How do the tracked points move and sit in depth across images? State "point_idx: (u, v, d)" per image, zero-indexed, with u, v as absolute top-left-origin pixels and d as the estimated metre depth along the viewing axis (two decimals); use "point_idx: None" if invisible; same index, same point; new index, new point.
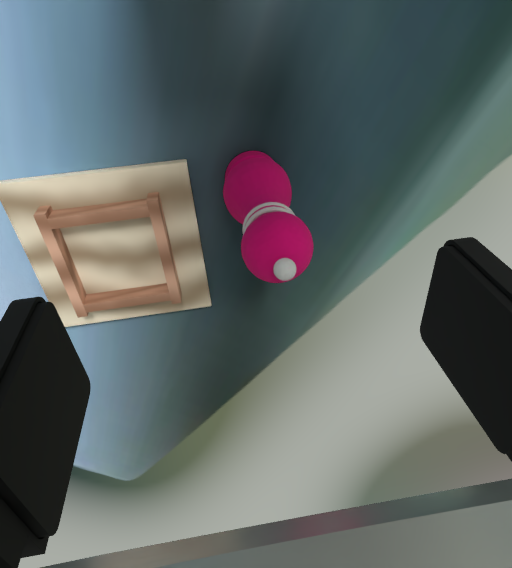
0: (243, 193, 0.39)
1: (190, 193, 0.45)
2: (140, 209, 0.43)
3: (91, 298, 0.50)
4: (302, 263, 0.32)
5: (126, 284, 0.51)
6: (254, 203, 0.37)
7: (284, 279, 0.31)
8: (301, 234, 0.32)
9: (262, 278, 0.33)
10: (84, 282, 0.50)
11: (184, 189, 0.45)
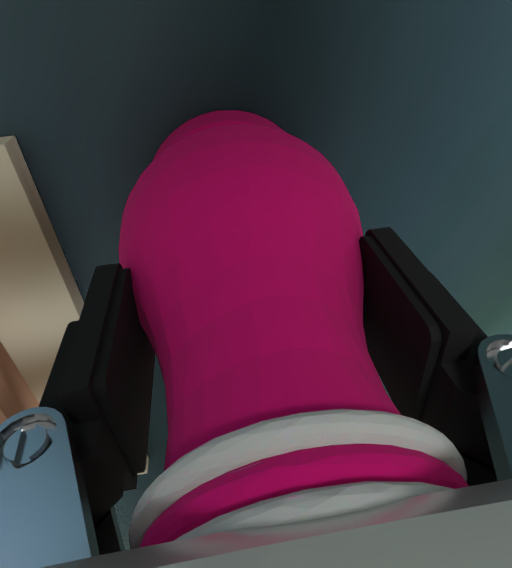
0: (169, 277, 0.09)
1: (42, 242, 0.15)
2: None
3: None
4: None
5: None
6: (212, 360, 0.07)
7: None
8: None
9: None
10: None
11: (21, 231, 0.15)
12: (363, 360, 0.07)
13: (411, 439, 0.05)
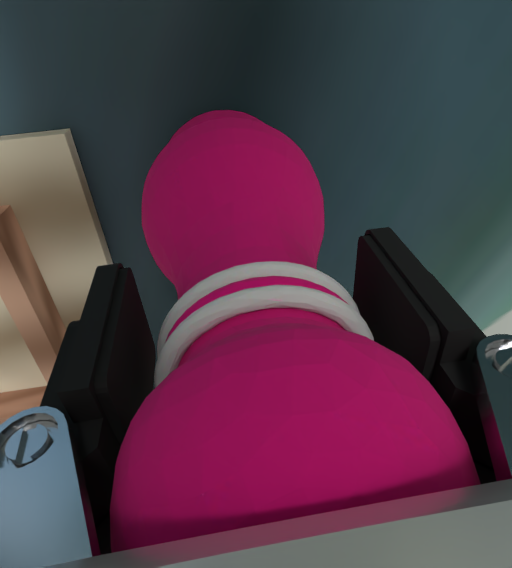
0: (179, 217, 0.12)
1: (85, 208, 0.20)
2: None
3: None
4: None
5: None
6: (207, 257, 0.10)
7: None
8: None
9: None
10: None
11: (71, 199, 0.20)
12: (304, 260, 0.11)
13: (316, 278, 0.09)
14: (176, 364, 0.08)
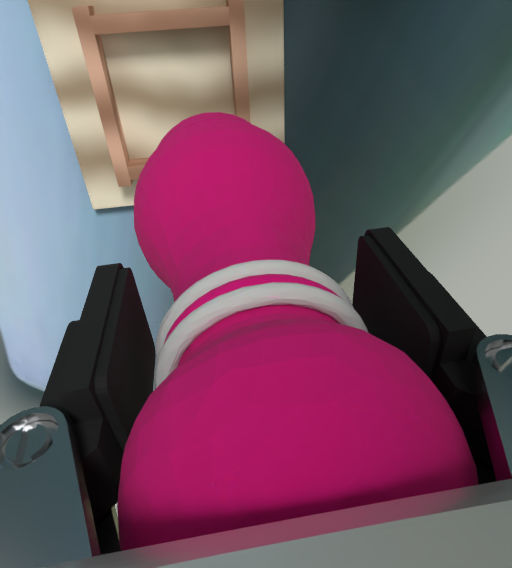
0: (173, 219, 0.13)
1: (281, 2, 0.34)
2: (218, 10, 0.31)
3: (137, 162, 0.38)
4: None
5: None
6: (203, 258, 0.11)
7: None
8: (451, 482, 0.05)
9: None
10: (128, 140, 0.38)
11: None
12: (298, 258, 0.11)
13: (312, 275, 0.09)
14: (176, 363, 0.08)
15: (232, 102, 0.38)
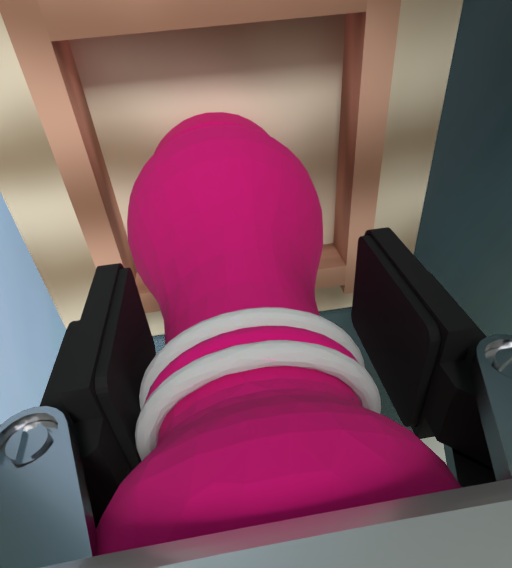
0: (166, 241, 0.11)
1: None
2: None
3: None
4: None
5: None
6: (195, 291, 0.10)
7: None
8: None
9: None
10: None
11: None
12: (302, 293, 0.10)
13: (315, 326, 0.08)
14: (159, 425, 0.07)
15: (335, 165, 0.19)
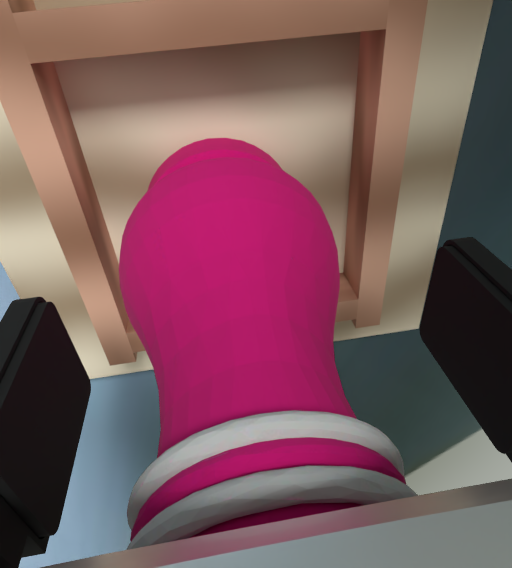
0: (162, 297, 0.10)
1: None
2: None
3: None
4: None
5: None
6: (195, 370, 0.08)
7: None
8: None
9: None
10: None
11: None
12: (324, 369, 0.08)
13: (348, 434, 0.06)
14: None
15: (346, 191, 0.18)
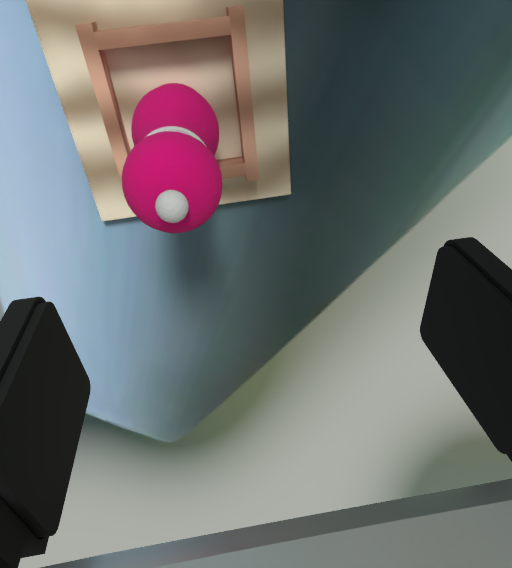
0: (146, 125, 0.30)
1: (281, 10, 0.34)
2: (219, 20, 0.32)
3: None
4: (203, 200, 0.23)
5: None
6: None
7: (169, 219, 0.22)
8: (196, 157, 0.23)
9: (151, 225, 0.24)
10: None
11: (274, 3, 0.33)
12: None
13: (187, 132, 0.26)
14: None
15: (235, 110, 0.38)
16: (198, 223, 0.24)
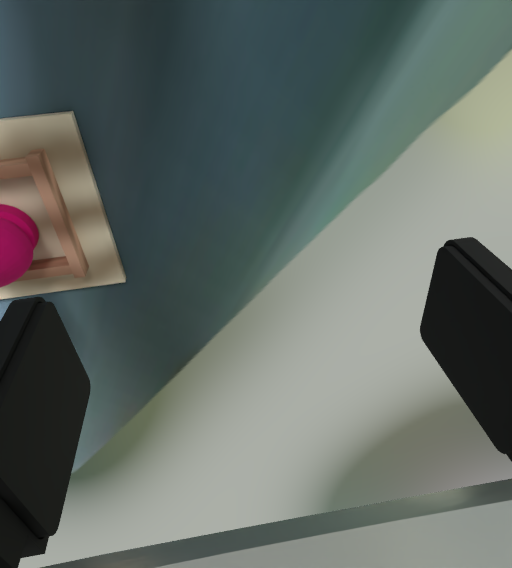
0: None
1: (81, 150, 0.41)
2: (19, 166, 0.39)
3: None
4: None
5: None
6: None
7: None
8: None
9: None
10: None
11: (74, 146, 0.40)
12: None
13: None
14: None
15: None
16: None
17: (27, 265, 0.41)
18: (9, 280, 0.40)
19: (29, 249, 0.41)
